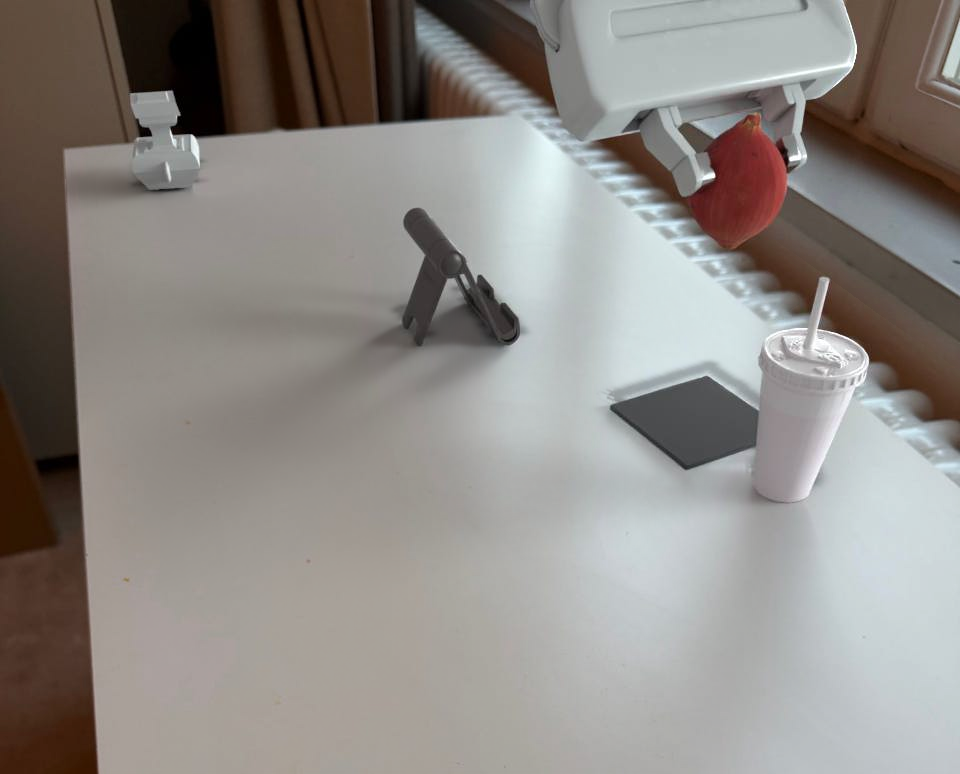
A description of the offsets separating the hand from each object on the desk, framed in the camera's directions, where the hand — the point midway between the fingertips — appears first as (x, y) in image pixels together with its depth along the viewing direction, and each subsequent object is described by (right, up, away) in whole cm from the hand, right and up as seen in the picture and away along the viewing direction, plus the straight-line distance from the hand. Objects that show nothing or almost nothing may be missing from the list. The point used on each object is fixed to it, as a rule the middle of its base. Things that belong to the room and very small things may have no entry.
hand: (746, 180), depth 62 cm
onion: (0, -3, +3) cm, 5 cm away
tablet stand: (-18, -2, +22) cm, 29 cm away
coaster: (0, -12, +12) cm, 17 cm away
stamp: (-48, +20, +45) cm, 69 cm away
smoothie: (+4, -18, +6) cm, 19 cm away
